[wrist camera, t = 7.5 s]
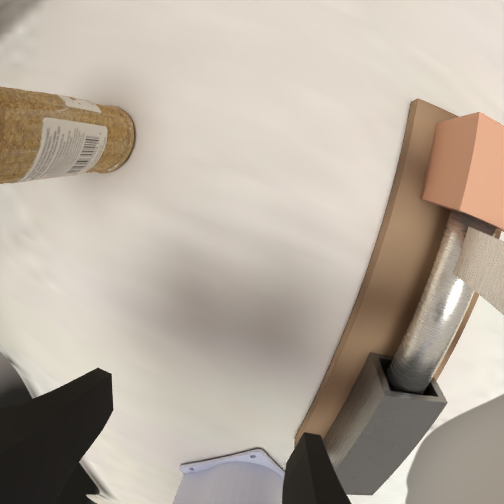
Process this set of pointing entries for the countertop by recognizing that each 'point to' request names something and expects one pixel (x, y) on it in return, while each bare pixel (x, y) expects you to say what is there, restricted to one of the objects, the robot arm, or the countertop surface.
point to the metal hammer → (448, 299)
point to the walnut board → (391, 273)
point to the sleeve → (378, 427)
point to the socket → (468, 168)
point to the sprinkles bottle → (59, 136)
